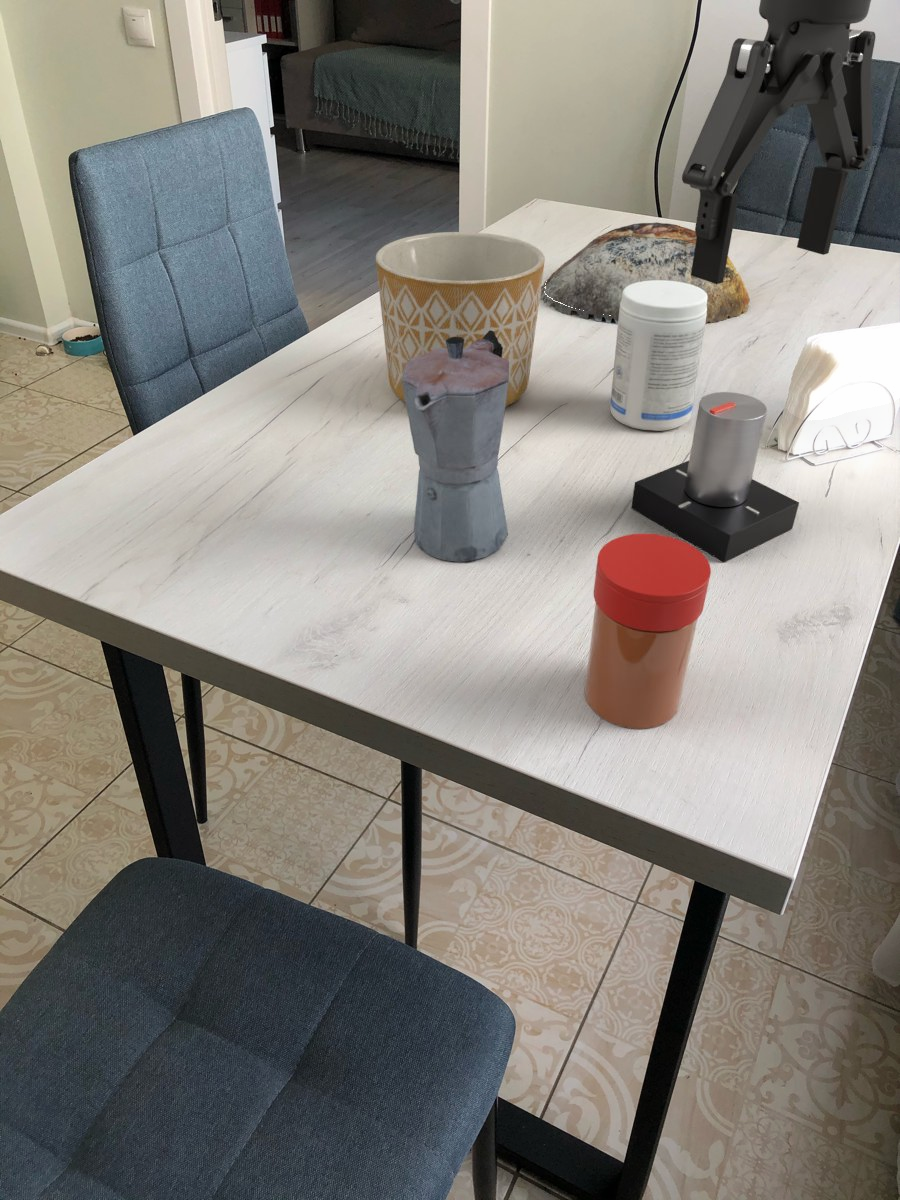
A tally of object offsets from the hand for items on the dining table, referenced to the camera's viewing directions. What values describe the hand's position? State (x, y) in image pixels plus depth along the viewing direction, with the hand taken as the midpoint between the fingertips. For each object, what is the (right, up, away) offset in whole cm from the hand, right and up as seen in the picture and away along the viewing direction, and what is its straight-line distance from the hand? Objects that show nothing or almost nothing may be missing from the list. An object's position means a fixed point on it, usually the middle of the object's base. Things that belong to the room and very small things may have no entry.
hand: (761, 264), depth 78 cm
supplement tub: (-2, -6, +33) cm, 34 cm away
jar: (-12, -35, -6) cm, 38 cm away
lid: (-12, -26, -13) cm, 31 cm away
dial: (0, -17, +13) cm, 22 cm away
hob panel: (0, -20, +15) cm, 25 cm away
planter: (-25, -2, +39) cm, 46 cm away
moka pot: (-25, -22, +12) cm, 35 cm away
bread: (+4, +19, +68) cm, 71 cm away
